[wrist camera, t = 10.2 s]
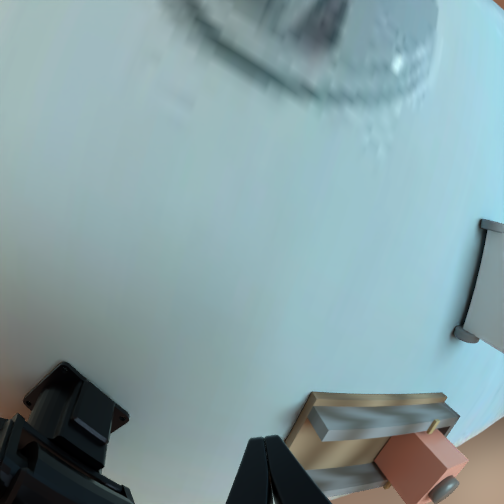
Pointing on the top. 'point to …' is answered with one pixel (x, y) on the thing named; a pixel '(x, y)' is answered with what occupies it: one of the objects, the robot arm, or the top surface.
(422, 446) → the slider
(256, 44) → the top surface
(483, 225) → the toy car
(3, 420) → the robot arm
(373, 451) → the track
